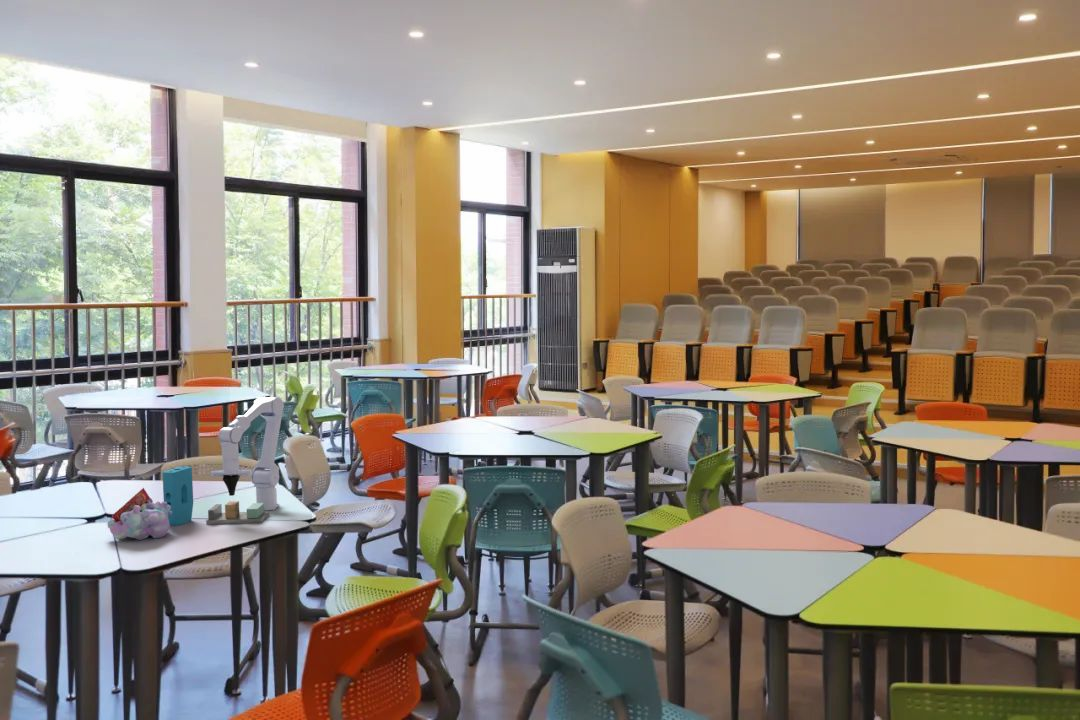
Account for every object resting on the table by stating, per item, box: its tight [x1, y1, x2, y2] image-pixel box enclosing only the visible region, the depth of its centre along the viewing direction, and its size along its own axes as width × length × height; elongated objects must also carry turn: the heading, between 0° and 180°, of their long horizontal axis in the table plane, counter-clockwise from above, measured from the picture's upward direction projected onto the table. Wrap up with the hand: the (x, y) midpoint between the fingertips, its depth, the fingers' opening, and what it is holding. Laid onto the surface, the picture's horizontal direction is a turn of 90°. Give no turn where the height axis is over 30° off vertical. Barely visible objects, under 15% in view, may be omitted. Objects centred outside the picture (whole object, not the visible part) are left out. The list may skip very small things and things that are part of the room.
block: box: [162, 466, 194, 527], centre depth 343 cm, size 12×5×20 cm, turn 167°
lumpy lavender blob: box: [107, 487, 172, 541], centre depth 323 cm, size 20×22×18 cm
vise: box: [205, 503, 270, 525], centre depth 347 cm, size 12×20×5 cm, turn 93°
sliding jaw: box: [246, 502, 265, 518], centre depth 347 cm, size 10×4×3 cm, turn 3°
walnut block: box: [224, 500, 240, 518], centre depth 346 cm, size 6×4×5 cm, turn 3°
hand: (232, 495), depth 346 cm, fingers closed
